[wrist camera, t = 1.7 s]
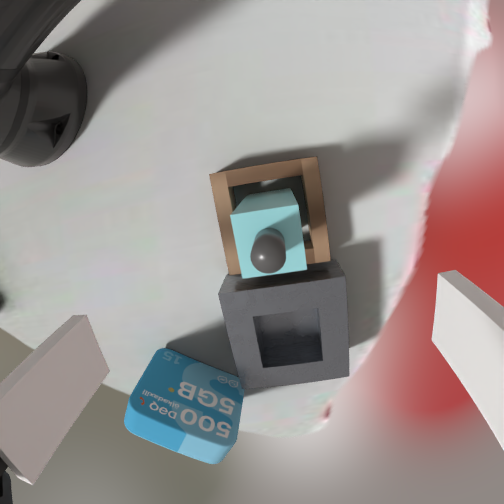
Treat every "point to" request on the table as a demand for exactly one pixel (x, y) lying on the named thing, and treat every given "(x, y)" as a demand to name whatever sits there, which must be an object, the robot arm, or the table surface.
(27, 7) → the robot arm
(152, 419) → the data package
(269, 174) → the square wooden frame
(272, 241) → the plug
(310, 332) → the port block
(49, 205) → the table surface
